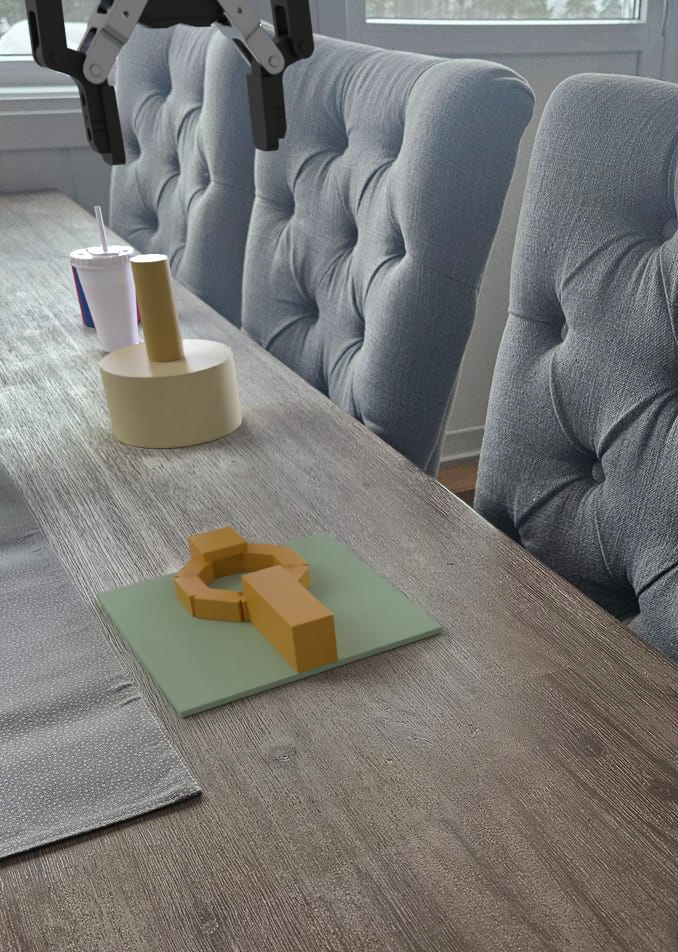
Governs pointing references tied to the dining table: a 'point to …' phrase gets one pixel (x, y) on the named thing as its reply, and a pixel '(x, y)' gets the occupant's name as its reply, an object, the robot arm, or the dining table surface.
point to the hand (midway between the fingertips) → (192, 156)
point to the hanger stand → (168, 374)
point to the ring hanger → (259, 595)
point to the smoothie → (109, 290)
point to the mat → (240, 643)
